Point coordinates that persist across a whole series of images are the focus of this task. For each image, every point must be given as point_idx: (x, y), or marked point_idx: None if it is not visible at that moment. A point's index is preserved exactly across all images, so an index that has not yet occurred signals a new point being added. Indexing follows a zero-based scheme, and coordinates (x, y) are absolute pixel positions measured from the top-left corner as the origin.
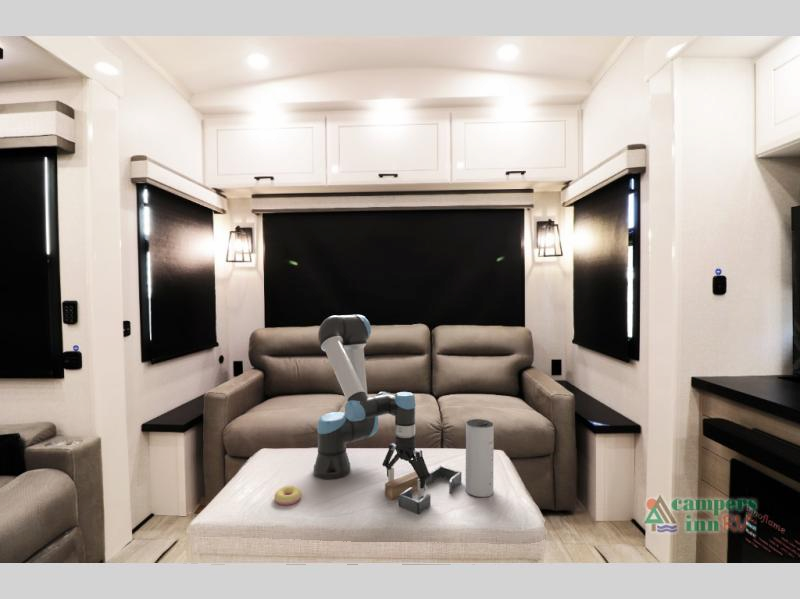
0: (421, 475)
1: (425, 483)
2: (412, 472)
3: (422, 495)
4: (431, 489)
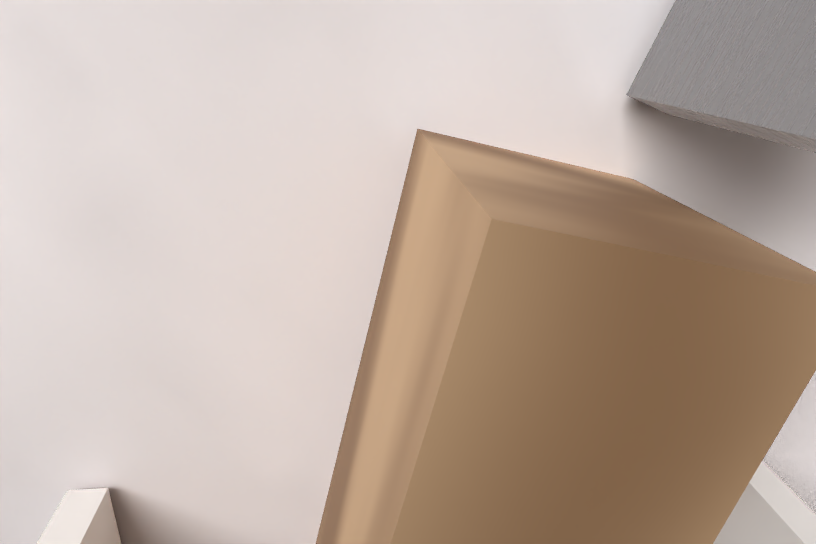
0: (782, 393)
1: (648, 103)
2: (437, 453)
3: None
4: (811, 200)
